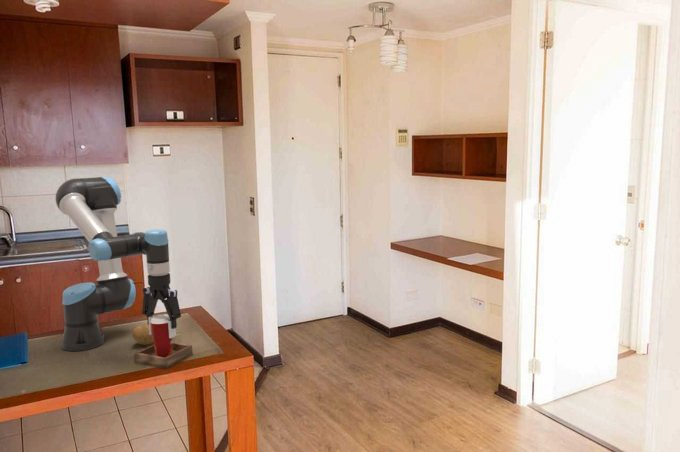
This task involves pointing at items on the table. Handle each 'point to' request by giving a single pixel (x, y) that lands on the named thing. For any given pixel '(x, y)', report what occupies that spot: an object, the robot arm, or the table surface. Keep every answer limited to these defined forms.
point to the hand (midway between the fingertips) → (162, 335)
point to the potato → (142, 335)
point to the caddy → (150, 358)
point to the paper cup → (161, 335)
